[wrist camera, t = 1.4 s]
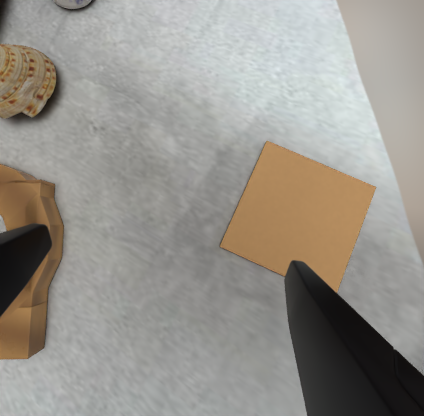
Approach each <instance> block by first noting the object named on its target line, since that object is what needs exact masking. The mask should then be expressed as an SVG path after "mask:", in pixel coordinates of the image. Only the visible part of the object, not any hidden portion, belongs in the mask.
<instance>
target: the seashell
mask: <svg viewBox="0 0 424 416" xmlns="http://www.w3.org/2000/svg"><path fill="white" fill-rule="evenodd" d="M55 83H56V71H55V67H54V65H53V63H52V61H51V60H50V59H49V58H48V57H47V56H46V55H44V54H43V53H41V52H39V51H38V50H36V49H33V48H30V47H26V46H21V45H10V44H0V117H1V118H6V119H7V118H9V117H12V116H14V115H16V114H18V113H21V112H22V113H24V114H26V115H28V116H30V117H34V116H36V115H37V114H38V113H39V112H40V111H41V110H42V108H43V107H44V106H45V104H46V101H47V99H48V98H50V97H51V94H52V93H53V90H54V88H55Z"/></svg>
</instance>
